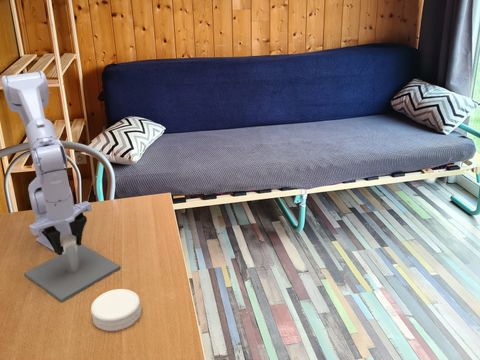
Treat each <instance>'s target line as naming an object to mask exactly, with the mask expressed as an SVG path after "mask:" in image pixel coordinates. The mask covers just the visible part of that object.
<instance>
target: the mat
mask: <svg viewBox="0 0 480 360" xmlns="http://www.w3.org/2000/svg"><path fill="white" fill-rule="evenodd" d="M77 250H78V258H79V266H80V267H79V270H78V271H76V272H73V273H68V272H66V270H65V267H64V264H63V261H62V258H61V255H56V256H55V257H53V258H51V259H49V260H47V261H45V262H43V263H41V264H40V265H37V266H35V267H33V268H31V269H29V270H27V271H25V272H24V273H23V274H24V277H26V278H27V279H28V280H29V281H31V282H33V283H34V284H35V285H37V286H38V287H39V288H41V289H42V290H44V291H45V292H46V293H48V294H50V295H51V296H52V297H54V298H55V299H56V300H57V301H59V302H61V303H64V302H65V301H67V300H69V299H70V298H72V297H74V296H76V295H78V294H80V293H81V292H83V291H84V290H86V289H88V288H90V287H91V286H93V285H95V284H97V283H98V282H100V281H102V280H104V279H105V278H108V277H109V276H111V275H112V274H114V273H116V272H118V271H119V270H121V269H122V267H121V265H119V264H118V263H116V262H115V261H113V260H111V259H109V258H107V257H105V256H104V255H102V254H100V253H99V252H97V251H95V250H93V249H92V248H90V247H88V246H86V245H85V244H82V243H81V245H80V246H78V245H77Z"/></svg>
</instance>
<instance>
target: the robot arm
mask: <svg viewBox="0 0 480 360" xmlns="http://www.w3.org/2000/svg"><path fill="white" fill-rule="evenodd" d="M0 79H1V80H0V81H1V85H2V89H3V93H4V98H5V100H6V103H7V107H8V108H9V111H11V112H14V113H18V115H19V117H20V119H21V120H22V122H23V126H24V130H25V134H26V138H27V142H28V146H29V150H30V154H31V158H32V159H31V160H32V163H33V166H34V167H33V168H34V171H35V175H36V177H35V178H34V179H33V180H32V181H31V182H30V183H29V184H28V188H27V190H28V195H29V197H28V198H29V200H30V205H31V209H32V212H33V214H34V220H35V222H34V223H32V224H29V226H28V227H29V231H30V234H32V235H33V236H35V237H36V236H38V237H36V238H35V241H36V242H38V243H39V244H41V245H43V246H44V247H46V248H47V249H49V250H51V251H53V252H54V253H55V255H57V256H59V255H62V248H61V244H60V236H61V235H64V234H72V235H74V236H75V237H76V236H77V246H80V245H81V244H82V238H83V237H82V236H83V233H84V229H85V226H86V223H87V222H88V219H87V216H86V215H85V214H84V213H89V212H92V210H93V209H92V203H91V202H88V201H87V200H85V201H83V202H79V203H76V204H75V203H74V195H73V192H72V190H71V186H70V184H69V178H68V173H67V169H68V166H69V165H68V163H69V162H68V158H67V153H66V149H65V147H64V145H63V144H62V142H61V140H60V139H58V136H57V132H56V130H55V129H56V128H55V127H54V123H53V122H52V121H51V120H49V119H47V118H46V116H45V111H44V108H46V107H48V105H49V101H50V100H49V99H50V98H49V96H50V95H49V94H50V88H49V84H48V80H47V76H46V74H45V72H43V71H42V70H39V71H37V72H29V73H27V72H26V73H19V74H11V75H10V74H9V75H2V77H1V78H0ZM39 188H40V189H39ZM77 233H78V235H77Z"/></svg>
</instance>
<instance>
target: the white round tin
mask: <svg viewBox="0 0 480 360" xmlns="http://www.w3.org/2000/svg"><path fill="white" fill-rule="evenodd" d="M90 313H91V317H92V321H93V324H94V326H95V327H97V328H98V329H99V330H102V331H106V332H117V331H123V330H124V329H127V328H129V327H131V326H132V325H133V324H135V323H136V322H137V321H138V320H139V318H140V317H141V314H142V306H141V299H140V297H139V295H138V294H137V293H136V292H135V291H133V290H129V289H125V288H117V289H111V290H109V291H105V292H103V293H102V294H100V295H99V296H97V297H96V298H95V299H94V301H93V302H92V303H91V307H90Z"/></svg>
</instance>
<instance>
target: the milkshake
mask: <svg viewBox="0 0 480 360" xmlns="http://www.w3.org/2000/svg"><path fill="white" fill-rule="evenodd" d="M77 235H78V233H77ZM60 244H61V248H62V255H61V258H62V261H63V264H64V267H65V270H66V272H68V273H73V272H76V271H78V270H79V267H80V266H79V258H78V250H77V246H78V245H77V236H76V237H75V236H74V235H72V234H64V235H61V236H60Z"/></svg>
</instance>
